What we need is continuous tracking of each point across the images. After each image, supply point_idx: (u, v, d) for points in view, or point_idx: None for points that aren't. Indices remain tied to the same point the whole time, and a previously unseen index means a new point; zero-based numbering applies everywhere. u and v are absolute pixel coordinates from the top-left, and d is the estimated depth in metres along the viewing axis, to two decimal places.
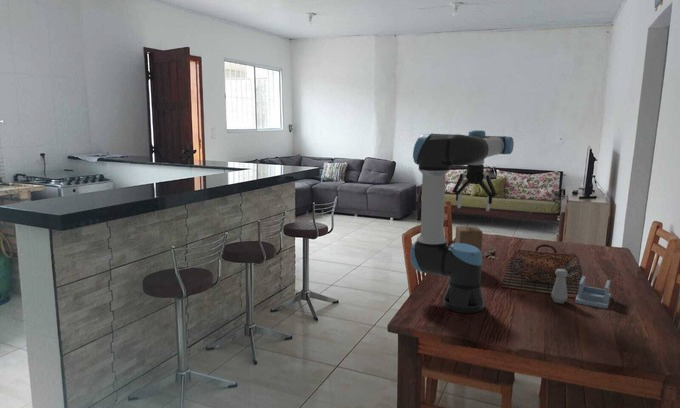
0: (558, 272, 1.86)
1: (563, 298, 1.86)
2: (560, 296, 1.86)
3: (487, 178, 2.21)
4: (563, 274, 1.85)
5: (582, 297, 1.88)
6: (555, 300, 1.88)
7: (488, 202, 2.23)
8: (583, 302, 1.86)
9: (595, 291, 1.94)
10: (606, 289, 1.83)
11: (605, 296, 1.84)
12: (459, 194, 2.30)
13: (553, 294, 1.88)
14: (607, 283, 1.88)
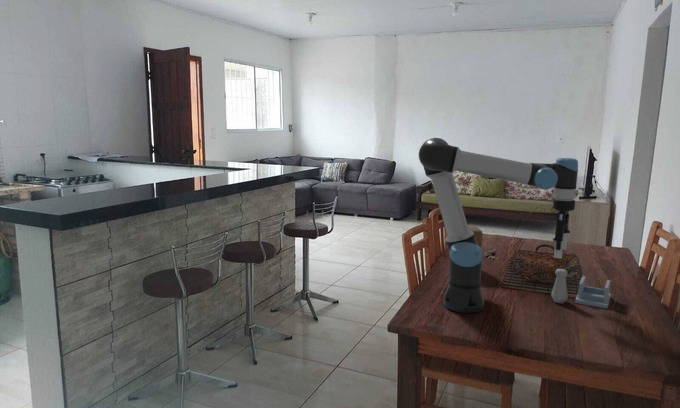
0: (558, 272, 1.86)
1: (563, 298, 1.86)
2: (560, 296, 1.86)
3: None
4: (563, 274, 1.85)
5: (582, 297, 1.88)
6: (555, 300, 1.88)
7: (555, 247, 1.81)
8: (583, 302, 1.86)
9: (595, 291, 1.94)
10: (606, 289, 1.83)
11: (605, 296, 1.84)
12: None
13: (553, 294, 1.88)
14: (607, 283, 1.88)
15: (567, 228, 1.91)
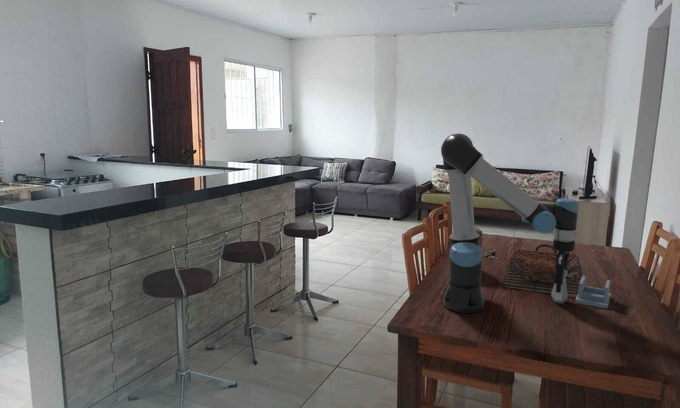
0: None
1: (563, 298, 1.86)
2: None
3: None
4: None
5: (582, 297, 1.88)
6: (555, 300, 1.88)
7: (555, 289, 1.86)
8: (583, 302, 1.86)
9: (595, 291, 1.94)
10: (606, 289, 1.83)
11: (605, 296, 1.84)
12: None
13: (553, 294, 1.88)
14: (607, 283, 1.88)
15: None
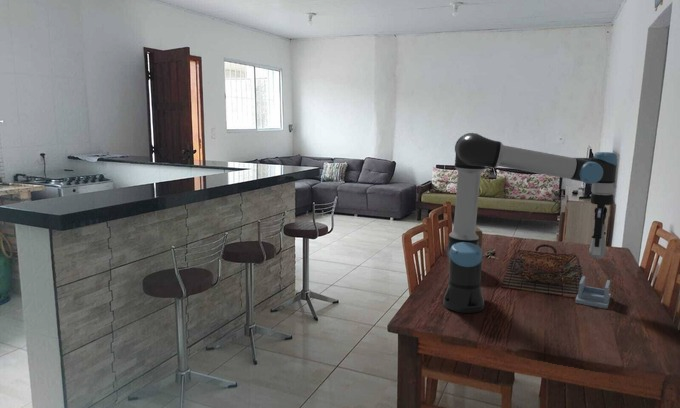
0: None
1: (602, 253, 1.84)
2: None
3: (595, 214, 1.80)
4: (602, 228, 1.83)
5: (582, 297, 1.88)
6: (593, 255, 1.86)
7: (594, 244, 1.84)
8: (583, 302, 1.86)
9: (595, 291, 1.94)
10: (606, 289, 1.83)
11: (605, 296, 1.84)
12: None
13: (591, 249, 1.86)
14: (607, 283, 1.88)
15: None
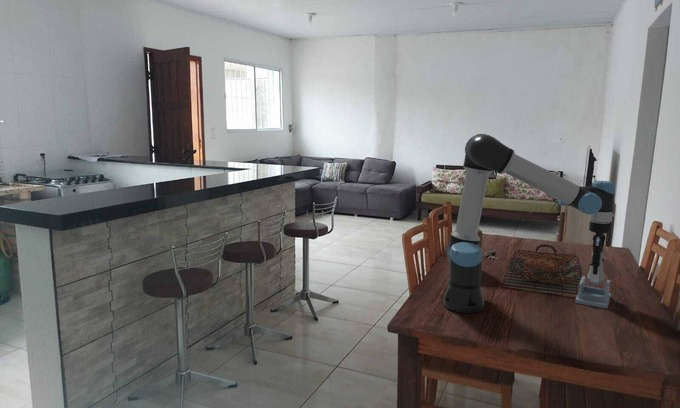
0: None
1: (600, 280, 1.86)
2: None
3: (593, 243, 1.82)
4: None
5: (582, 297, 1.88)
6: (592, 282, 1.88)
7: (592, 271, 1.86)
8: (583, 302, 1.86)
9: (595, 291, 1.94)
10: (606, 289, 1.83)
11: (605, 296, 1.84)
12: None
13: (589, 276, 1.88)
14: (607, 283, 1.88)
15: None
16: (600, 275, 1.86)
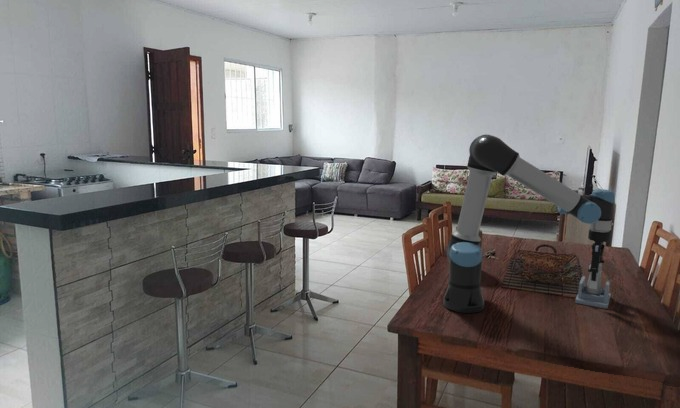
0: None
1: (598, 293, 1.87)
2: (595, 291, 1.87)
3: (593, 249, 1.82)
4: (598, 268, 1.86)
5: (582, 297, 1.88)
6: None
7: (590, 278, 1.84)
8: (583, 302, 1.86)
9: None
10: (606, 289, 1.83)
11: (605, 296, 1.84)
12: None
13: (587, 289, 1.89)
14: (607, 283, 1.88)
15: (601, 258, 1.93)
16: (598, 288, 1.87)
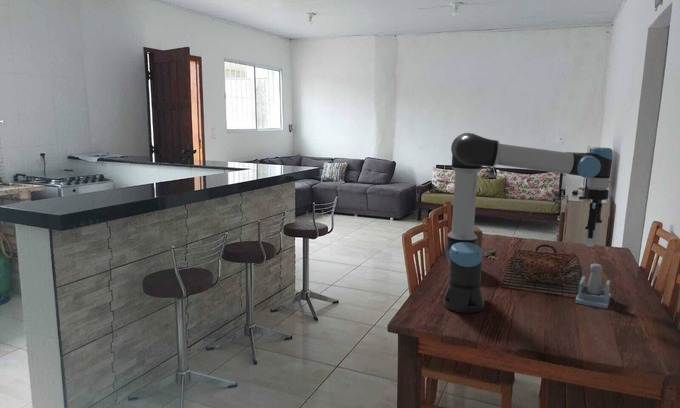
0: (593, 267, 1.87)
1: (598, 293, 1.87)
2: (595, 291, 1.87)
3: (590, 206, 1.81)
4: (599, 268, 1.86)
5: (582, 297, 1.88)
6: None
7: (587, 235, 1.82)
8: (583, 302, 1.86)
9: None
10: (606, 289, 1.83)
11: (605, 296, 1.84)
12: None
13: (588, 289, 1.89)
14: (607, 283, 1.88)
15: (599, 218, 1.92)
16: (598, 288, 1.87)
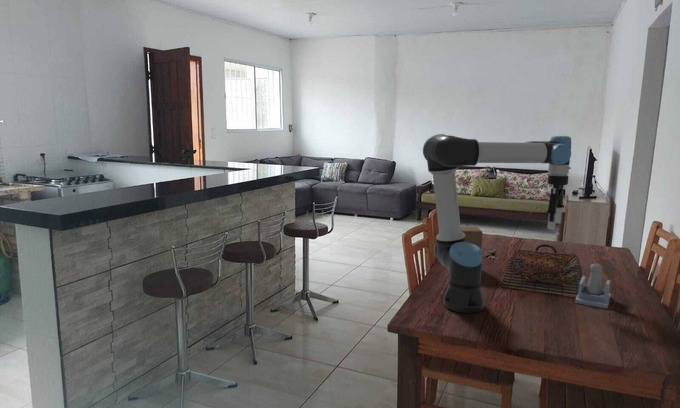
0: (593, 267, 1.87)
1: (598, 293, 1.87)
2: (595, 291, 1.87)
3: (551, 191, 1.92)
4: (599, 268, 1.86)
5: (582, 297, 1.88)
6: None
7: (549, 219, 1.93)
8: (583, 302, 1.86)
9: None
10: (606, 289, 1.83)
11: (605, 296, 1.84)
12: (556, 207, 2.04)
13: (588, 289, 1.89)
14: (607, 283, 1.88)
15: (561, 203, 2.03)
16: (598, 288, 1.87)
